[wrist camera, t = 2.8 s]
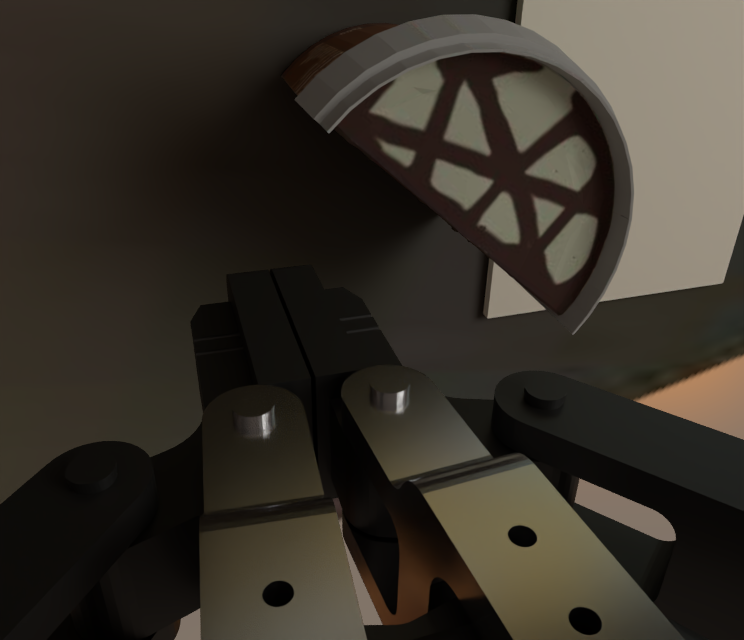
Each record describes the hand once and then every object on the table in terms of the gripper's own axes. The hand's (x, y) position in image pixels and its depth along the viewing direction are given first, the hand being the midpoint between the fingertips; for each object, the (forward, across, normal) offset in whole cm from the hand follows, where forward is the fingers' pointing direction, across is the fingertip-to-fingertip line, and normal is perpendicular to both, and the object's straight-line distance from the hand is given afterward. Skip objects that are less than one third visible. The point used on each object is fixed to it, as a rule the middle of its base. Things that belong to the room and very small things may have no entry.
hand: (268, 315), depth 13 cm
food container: (+16, -9, 0) cm, 19 cm away
